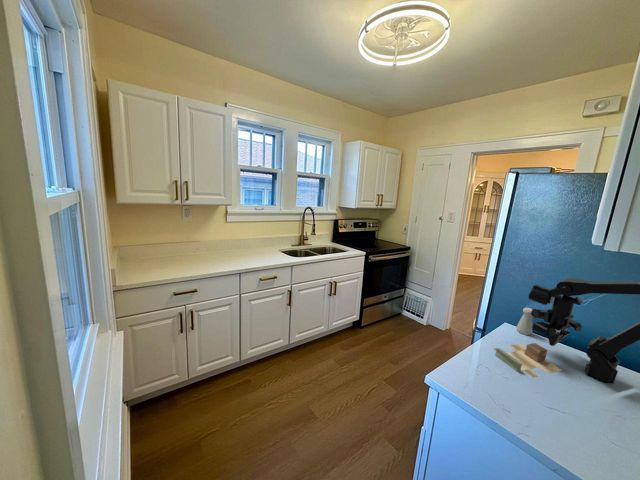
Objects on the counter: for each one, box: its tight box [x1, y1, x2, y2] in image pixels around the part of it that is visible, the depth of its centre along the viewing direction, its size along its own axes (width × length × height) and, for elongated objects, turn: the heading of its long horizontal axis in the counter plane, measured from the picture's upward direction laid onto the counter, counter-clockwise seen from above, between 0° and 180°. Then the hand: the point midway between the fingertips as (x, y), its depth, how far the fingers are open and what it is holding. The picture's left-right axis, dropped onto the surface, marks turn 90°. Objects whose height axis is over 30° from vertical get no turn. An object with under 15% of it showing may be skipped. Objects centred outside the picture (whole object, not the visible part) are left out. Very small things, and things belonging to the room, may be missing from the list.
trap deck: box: [493, 343, 563, 378], centre depth 101 cm, size 18×16×4 cm
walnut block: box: [525, 342, 549, 362], centre depth 102 cm, size 4×4×4 cm
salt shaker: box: [515, 307, 533, 336], centre depth 119 cm, size 6×6×13 cm
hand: (551, 345), depth 104 cm, fingers closed
